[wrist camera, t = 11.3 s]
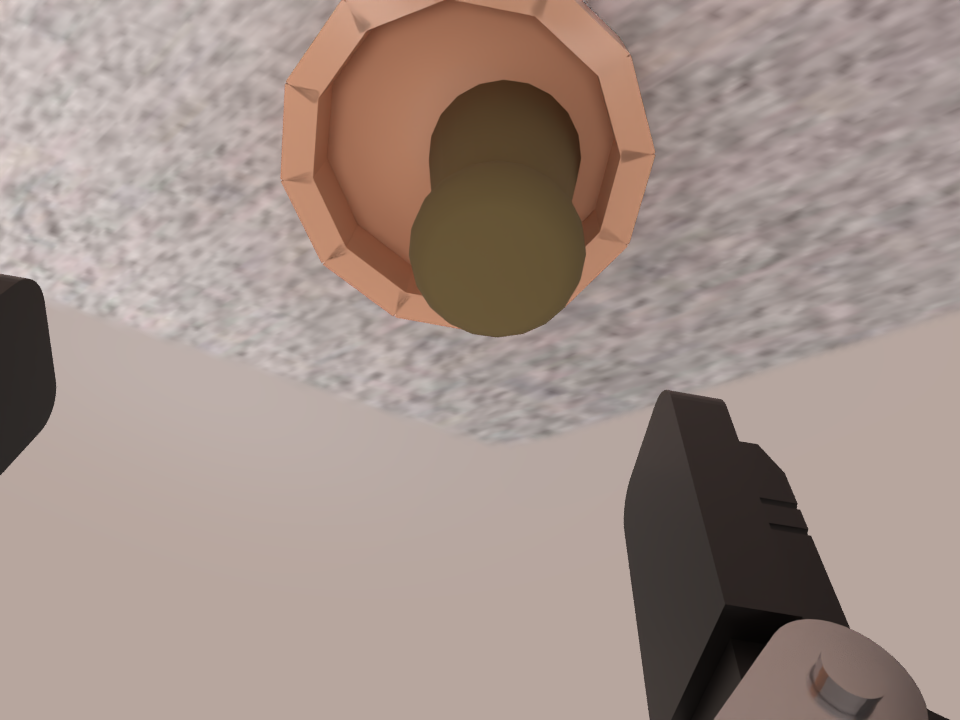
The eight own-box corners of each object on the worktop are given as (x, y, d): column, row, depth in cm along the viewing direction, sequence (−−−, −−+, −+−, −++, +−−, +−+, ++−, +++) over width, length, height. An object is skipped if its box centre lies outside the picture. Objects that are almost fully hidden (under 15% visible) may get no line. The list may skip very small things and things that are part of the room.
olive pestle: (521, 257, 33) (519, 402, 24) (400, 176, 32) (347, 298, 22) (612, 140, 31) (651, 253, 21) (485, 46, 29) (465, 122, 20)
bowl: (680, -5, 29) (698, 8, 26) (590, 314, 36) (596, 353, 33) (317, -79, 28) (292, -74, 25) (296, 260, 35) (275, 295, 32)
